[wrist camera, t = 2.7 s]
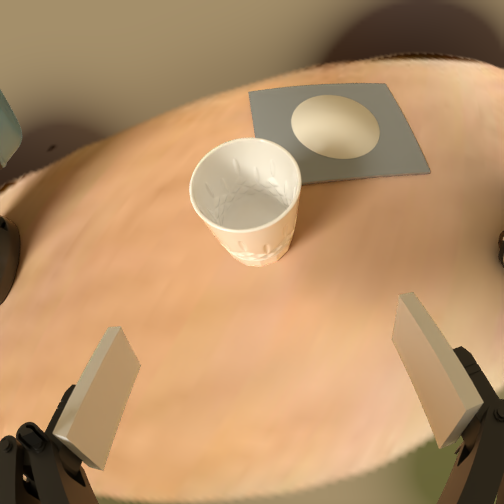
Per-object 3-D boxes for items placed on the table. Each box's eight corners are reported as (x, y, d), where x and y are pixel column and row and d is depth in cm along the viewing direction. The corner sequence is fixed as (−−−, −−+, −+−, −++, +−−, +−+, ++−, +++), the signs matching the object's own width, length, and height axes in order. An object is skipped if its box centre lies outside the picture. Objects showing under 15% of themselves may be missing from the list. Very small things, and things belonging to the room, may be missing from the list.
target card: (262, 189, 31) (262, 187, 31) (248, 94, 37) (248, 91, 36) (429, 173, 30) (431, 171, 29) (384, 85, 35) (385, 83, 34)
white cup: (236, 191, 32) (215, 129, 22) (308, 211, 30) (313, 150, 20) (207, 258, 29) (171, 214, 20) (283, 283, 28) (280, 247, 18)
